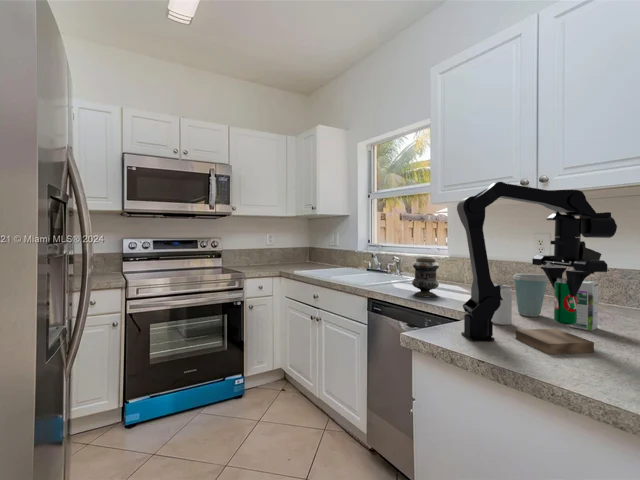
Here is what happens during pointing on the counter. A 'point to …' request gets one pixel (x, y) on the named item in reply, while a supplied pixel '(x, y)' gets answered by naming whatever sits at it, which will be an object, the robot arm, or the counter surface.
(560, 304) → the soda can
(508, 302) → the can
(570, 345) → the walnut base
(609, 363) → the counter surface
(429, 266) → the apothecary jar
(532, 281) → the disposable coffee cup
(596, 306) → the syrup box
